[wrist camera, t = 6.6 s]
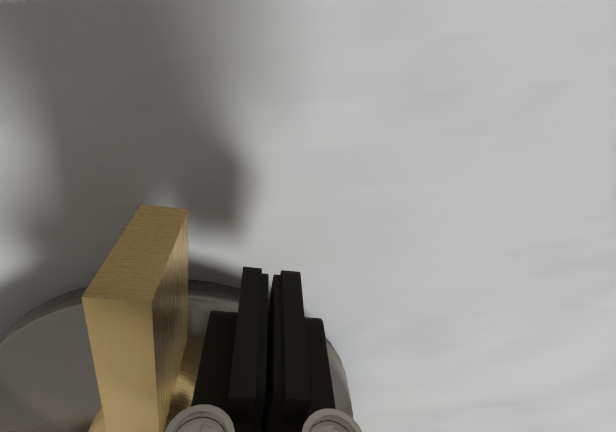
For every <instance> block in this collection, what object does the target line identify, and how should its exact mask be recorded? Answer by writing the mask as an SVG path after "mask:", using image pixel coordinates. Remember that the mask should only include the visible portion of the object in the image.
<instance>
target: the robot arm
mask: <svg viewBox="0 0 616 432" xmlns="http://www.w3.org/2000/svg"><path fill="white" fill-rule="evenodd" d="M258 431H259V432H362V431H361V429H360V427H359V425H358V424H357V423H356V422H355V421H354V419H353V418H352V417H350V416H349V415H347V414H346V413H344V412H342V411H339V410H336V407H335V400H334V393H333V386H332V380H331V373H330V366H329V359H328V352H327V345H326V339H325V332H324V325H323V321H322V319H320V318H306V317H304V308H303V297H302V286H301V275H300V272H294V271H283V270H282V271H281V274H280V275H274V276H273V282H272V287H271V293H270V299H269V304H268V274H262V268H251V267H243V274H242V282H241V290H240V299H239V307H238V312H224V311H211V312H210V315H209V320H208V325H207V330H206V335H205V340H204V345H203V349H202V354H201V359H200V364H199V369H198V374H197V379H196V384H195V389H194V393H193V398H192V403H191V407H189V408H187V409H185V410H183V411H182V412H180V413H178V414H177V415H176V416H175V417H174V418H173V419H172V420H171V421H170V423H169V425H168V427H167V428H166V430H165V432H258Z"/></svg>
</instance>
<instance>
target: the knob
mask: <svg viewBox="0 0 616 432" xmlns="http://www.w3.org/2000/svg"><path fill="white" fill-rule="evenodd" d="M188 220H189V210H188V209H179V208H169V207H160V206H151V205H140V207H139V208H138V210H137V211H136V213H135V214H134V216H133V217H132V219H131V221H130V222H129V224H128V225H127V227H126V228H125V230H124V231H123V233H122V235H121V236H120V238H119V239H118V241H117V242H116V244H115V246H114V247H113V249H112V250H111V252H110V253H109V255H108V256H107V258H106V260H105V261H104V263H103V264H102V266H101V267H100V269H99V270H98V272H97V274H96V275H95V277H94V278H93V280H92V281H91V283H90V285H89V286H88V288H87V289H86V291H85V292H84V294H83V295H82V303H83V308H84V313H85V319H86V324H87V329H88V335H89V340H90V345H91V351H92V356H93V361H94V367H95V372H96V377H97V383H98V388H99V393H100V399H101V403H100V405H99V407H98V410H97V412H96V414H95V417H94V419H93V421H92V424H91V426H90V428H89V431H88V432H165V430H166V428H167V427H168V425H169V423H170V421H171V420H172V419H173V418H174V417H175V416H176V415H177V414H178V413H180V412H182V411H183V410H185V409H187V408H189V407H191V403H192V398H193V393H194V389H195V384H196V379H197V374H198V369H199V364H200V359H201V354H202V349H203V345H204V341H203V340H201V339H199V338H197V337H194V336H191V335H187V316H188Z"/></svg>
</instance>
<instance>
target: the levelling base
mask: <svg viewBox="0 0 616 432" xmlns="http://www.w3.org/2000/svg"><path fill="white" fill-rule="evenodd" d="M87 288H88V287H86V288H83V289H79V290H76V291H72V292H69V293H67V294H64V295H62V296H60V297H58V298H55V299H53V300H51V301H48V302H46V303H45V304H43V305H41V306H40V307H38V308H36V309H35V310H33V311H31V312H30V313H28V314H27V315H26V316H24V317H23V318H22V319H21V320H20V321H19V322H18V323H16V324H15V325H14V326H13V327H12V328H11V329H10V331H9V332H8V333H7V334H6V336H5V337H4V338H3V339H2V341H1V342H0V432H88V431H89V428H90V426H91V424H92V421H93V419H94V417H95V414H96V412H97V410H98V407H99V405H100V403H101V399H100V393H99V388H98V383H97V377H96V372H95V367H94V361H93V356H92V351H91V345H90V340H89V335H88V329H87V324H86V319H85V313H84V308H83V303H82V295H83V294H84V292H85V291H86V289H87ZM239 299H240V289H237V288H233V287H228V286H224V285H219V284H215V283H210V282H202V281H195V280H188V316H187V335H191V336H194V337H197V338H199V339H201V340H203V341H204V340H205V335H206V330H207V325H208V320H209V315H210V312H211V311H224V312H238V307H239ZM268 304H269V300H268ZM325 339H326V338H325ZM326 345H327V352H328V359H329V366H330V373H331V380H332V386H333V393H334V400H335V407H336V410H339V411H342V412H344V413H346V414H347V415H349V416H350V417H352V418H353V412H352V406H351V400H350V394H349V389H348V384H347V378H346V373H345V370H344V367H343V365H342V362H341V360H340V358H339V356H338V354H337V353H336V351H335V350H334V348H333V346H332V345H331V344H330V343H329V342H328V340H327V339H326ZM258 432H259V431H258Z"/></svg>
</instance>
